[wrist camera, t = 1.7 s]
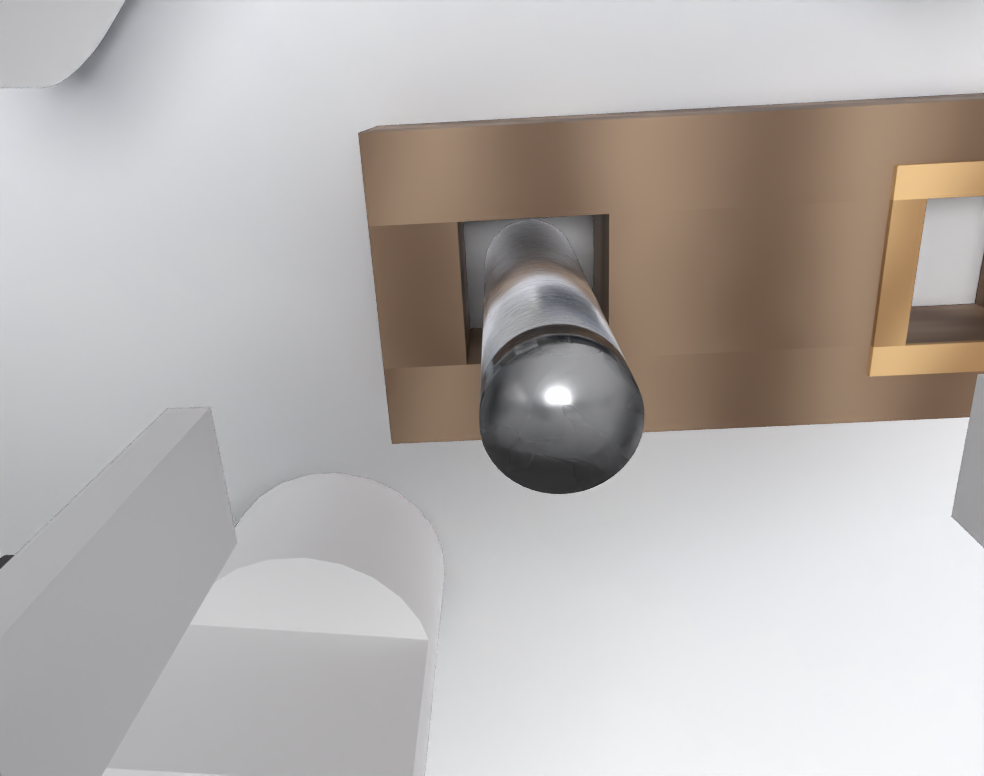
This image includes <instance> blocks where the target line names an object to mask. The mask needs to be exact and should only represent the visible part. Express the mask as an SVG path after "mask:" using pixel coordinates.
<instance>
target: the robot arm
mask: <svg viewBox="0 0 984 776" xmlns="http://www.w3.org/2000/svg"><path fill="white" fill-rule="evenodd" d="M951 517H952V518H953V519H954V520H956V521H957V522H958V523H959V524H960V525H961V526H962V527H963V528H964V529H965V530H966V531H967V532H968V533H969V534H970V535H971V536H972V537H973V538H974V539H975V540H976V541H977V542H978V543H979V544H980V545H981V546H983V547H984V374H978V376H977V381H976V386H975V392H974V397H973V403H972V408H971V413H970V419H969V424H968V429H967V435H966V440H965V446H964V451H963V456H962V462H961V467H960V473H959V478H958V483H957V489H956V494H955V499H954V505H953V510H952V516H951ZM236 544H237V539H236V534H235V529H234V524H233V519H232V513H231V508H230V503H229V498H228V493H227V488H226V483H225V478H224V473H223V468H222V463H221V458H220V453H219V448H218V442H217V437H216V432H215V427H214V422H213V417H212V412H211V407H195V408H171V409H166V410H165V411H164V412H163V413H162V414H161V415H160V416H159V417H158V418H157V419H156V420H155V421H154V422H153V423H152V424H151V425H150V426H149V427H148V428H147V429H145V430H144V431H143V432H142V433H141V434H140V435H139V436H138V437H137V438H136V439H135V440H134V441H133V442H132V443H131V444H130V445H129V446H128V447H127V448H126V449H125V450H124V451H123V452H122V453H121V454H119V455H118V456H117V457H116V458H115V459H114V460H113V461H112V462H111V463H110V464H109V465H108V466H107V467H106V468H105V469H104V470H103V471H102V472H101V473H100V474H99V475H98V476H97V477H96V478H95V479H93V480H92V481H91V482H90V483H89V484H88V485H87V486H86V487H85V488H84V489H83V490H82V491H81V492H80V493H79V494H78V495H77V496H76V497H75V498H74V499H73V500H72V501H71V502H70V503H68V504H67V505H66V506H65V507H64V508H63V509H62V510H61V511H60V512H59V513H58V514H57V515H56V516H55V517H54V518H53V519H52V520H51V521H50V522H49V523H48V524H47V525H46V526H45V527H44V528H42V529H41V530H40V531H39V532H38V533H37V534H36V535H35V536H34V537H33V538H32V539H31V540H30V541H29V542H28V543H27V544H26V545H25V546H24V547H23V548H22V549H21V550H20V551H19V552H18V553H16V554H15V555H5V556H3V557H2V558H0V776H102V774H103V773H104V771H105V769H106V768H107V766H108V764H109V762H110V761H111V759H112V757H113V756H114V754H115V752H116V750H117V749H118V747H119V745H120V744H121V742H122V740H123V738H124V737H125V735H126V733H127V731H128V730H129V728H130V726H131V725H132V723H133V721H134V719H135V718H136V716H137V714H138V713H139V711H140V709H141V707H142V706H143V704H144V702H145V701H146V699H147V697H148V695H149V694H150V692H151V690H152V689H153V687H154V685H155V683H156V682H157V680H158V678H159V677H160V675H161V673H162V671H163V670H164V668H165V666H166V664H167V663H168V661H169V659H170V658H171V656H172V654H173V652H174V651H175V649H176V647H177V646H178V644H179V642H180V640H181V639H182V637H183V635H184V634H185V632H186V630H187V628H188V627H189V625H190V623H191V622H192V620H193V618H194V616H195V615H196V613H197V611H198V609H199V608H200V606H201V604H202V603H203V601H204V599H205V597H206V596H207V594H208V592H209V591H210V589H211V587H212V585H213V584H214V582H215V580H216V579H217V577H218V575H219V573H220V572H221V570H222V568H223V567H224V565H225V563H226V561H227V560H228V558H229V556H230V555H231V553H232V551H233V549H234V548H235V546H236Z"/></svg>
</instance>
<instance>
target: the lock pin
mask: <svg viewBox="0 0 984 776" xmlns="http://www.w3.org/2000/svg"><path fill="white" fill-rule="evenodd" d="M644 418H645V416H644V405H643V399H642V396H641V393H640V390H639V387H638V385H637V383H636V381H635V379H634V377H633V375H632V373H631V371H630V369H629V367H628V365H627V362H626V360H625V358H624V356H623V354H622V352H621V350H620V348H619V346H618V344H617V342H616V339H615V337H614V335H613V333H612V331H611V329H610V327H609V325H608V323H607V321H606V319H605V316H604V314H603V312H602V310H601V308H600V306H599V304H598V302H597V300H596V298H595V296H594V293H593V291H592V289H591V287H590V285H589V283H588V281H587V279H586V277H585V275H584V273H583V270H582V268H581V266H580V264H579V262H578V260H577V258H576V256H575V254H574V252H573V250H572V247H571V245H570V243H569V242H568V240H567V238H566V237H565V236H564V234H563V233H562V232H561V231H560V230H558V229H557V228H556V227H554V226H553V225H551V224H549V223H546V222H543V221H540V220H521V221H517V222H515V223H512V224H510V225H508V226H506V227H505V228H504V229H502V230H501V231H500V232H499V233H498V234H497V235H496V236H495V238H494V239H493V240H492V242H491V244H490V246H489V248H488V251H487V255H486V262H485V286H484V311H483V335H482V360H481V384H480V409H479V427H480V435H481V438H482V442H483V445H484V447H485V449H486V452H487V454H488V455H489V457H490V458H491V460H492V462H493V463H494V464H495V465H496V466H497V468H498V469H499V470H500V471H501V472H502V473H504V474H505V475H506V476H507V477H508V478H510V479H511V480H513V481H514V482H516V483H518V484H520V485H522V486H524V487H526V488H529V489H531V490H535V491H539V492H543V493H551V494H567V493H575V492H580V491H584V490H587V489H590V488H593V487H595V486H597V485H599V484H601V483H603V482H605V481H606V480H608V479H610V478H611V477H612V476H614V475H615V474H616V473H617V472H619V471H620V470H621V469H622V468H623V467H624V466H625V465H626V463H627V462H628V461H629V459H630V458H631V457H632V455H633V454H634V452H635V450H636V448H637V447H638V444H639V442H640V439H641V436H642V432H643V428H644Z"/></svg>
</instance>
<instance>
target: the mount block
mask: <svg viewBox="0 0 984 776" xmlns="http://www.w3.org/2000/svg"><path fill="white" fill-rule="evenodd" d="M358 135H359V145H360V154H361V163H362V172H363V182H364V191H365V200H366V209H367V218H368V228H369V237H370V246H371V255H372V265H373V274H374V283H375V292H376V301H377V311H378V320H379V329H380V338H381V347H382V357H383V366H384V375H385V384H386V394H387V403H388V412H389V421H390V430H391V440H392V444H399V443H421V442H443V441H464V440H482V438H481V435H480V427H479V409H480V384H481V360H482V335H483V328H471V329H470V320H469V305H468V289H467V274H466V258H465V242H464V227H463V222H464V221H483V220H503V219H522V218H541V217H561V216H580V215H593V245H594V296H595V298H596V300H597V302H598V304H599V306H600V308H601V310H602V312H603V314H604V316H605V319H606V321H607V323H608V325H609V327H610V329H611V331H612V333H613V335H614V337H615V339H616V342H617V344H618V346H619V348H620V350H621V352H622V354H623V356H624V358H625V360H626V362H627V365H628V367H629V369H630V371H631V373H632V375H633V377H634V379H635V381H636V383H637V385H638V387H639V390H640V393H641V396H642V399H643V405H644V416H645V418H644V428H643V432H659V431H680V430H702V429H723V428H745V427H766V426H788V425H810V424H831V423H853V422H874V421H896V420H918V419H939V418H961V417H970V413H971V408H972V403H973V397H974V392H975V386H976V381H977V376H978V374H984V257H983V263H982V268H981V274H980V280H979V285H978V291H977V296H976V302H975V304H960V305H940V306H919V307H911V304H912V298H913V291H914V284H915V277H916V271H917V264H918V257H919V251H920V244H921V237H922V231H923V224H924V217H925V211H926V204H927V199H930V198H949V197H969V196H984V93H977V94H959V95H940V96H922V97H903V98H885V99H866V100H848V101H829V102H811V103H793V104H774V105H756V106H737V107H719V108H700V109H682V110H663V111H645V112H626V113H608V114H590V115H571V116H553V117H534V118H516V119H497V120H479V121H460V122H442V123H423V124H405V125H387V126H376V127H373V128H371V129H368V130H365V131H363V132H360V133H358Z"/></svg>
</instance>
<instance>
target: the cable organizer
mask: <svg viewBox="0 0 984 776" xmlns="http://www.w3.org/2000/svg"><path fill="white" fill-rule="evenodd" d="M124 2H125V0H0V88H45V87H50V86H53V85H56V84H58V83H60V82H61V81H63V80H65V79H66V78H67V77H69V76H70V75H71V74H72V73H74V72H75V71H76V70H77V69H78V68H79V67H80V66H81V65H82V64H83V63H84V62H85V61H86V60H87V59H88V58H89V56H90V55H91V54H92V53H93V51H94V50H95V49H96V48H97V46H98V45H99V44H100V42H101V41H102V39H103V38H104V36H105V35H106V33H107V31H108V30H109V28H110V26H111V24H112V23H113V21H114V19H115V17H116V16H117V14H118V12H119V11H120V9H121V7H122V5H123V4H124Z"/></svg>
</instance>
